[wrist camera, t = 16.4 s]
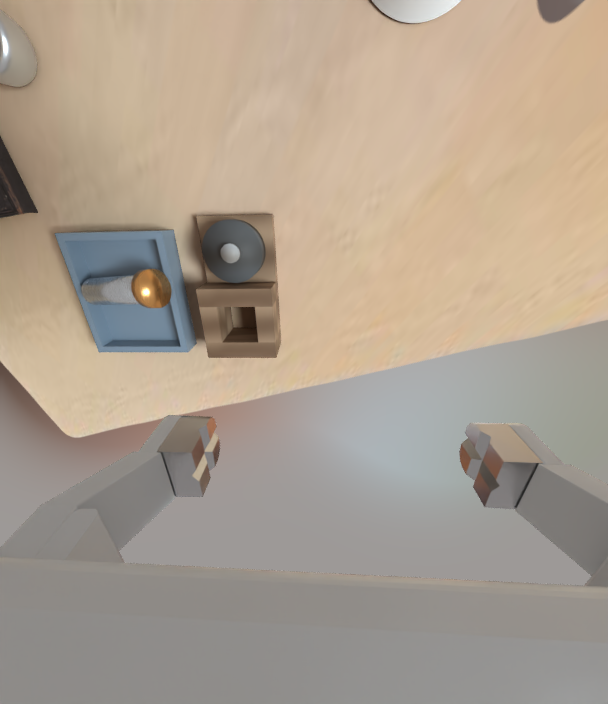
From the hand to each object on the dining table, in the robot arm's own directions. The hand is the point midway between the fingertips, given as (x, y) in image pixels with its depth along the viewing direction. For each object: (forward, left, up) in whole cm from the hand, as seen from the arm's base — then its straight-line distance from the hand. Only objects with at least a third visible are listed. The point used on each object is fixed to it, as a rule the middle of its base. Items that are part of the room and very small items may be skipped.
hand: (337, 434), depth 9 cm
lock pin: (+3, -34, -33) cm, 48 cm away
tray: (+4, -29, -36) cm, 47 cm away
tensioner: (+3, -12, -36) cm, 38 cm away
